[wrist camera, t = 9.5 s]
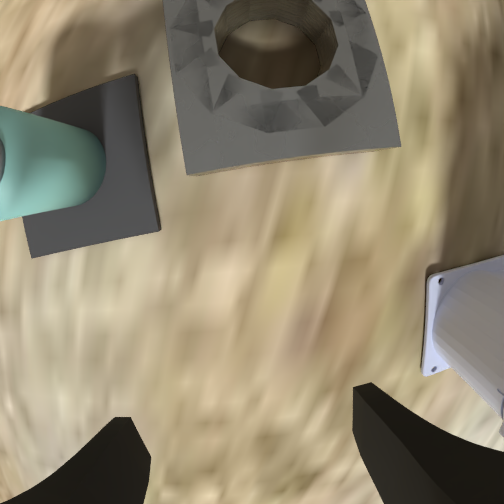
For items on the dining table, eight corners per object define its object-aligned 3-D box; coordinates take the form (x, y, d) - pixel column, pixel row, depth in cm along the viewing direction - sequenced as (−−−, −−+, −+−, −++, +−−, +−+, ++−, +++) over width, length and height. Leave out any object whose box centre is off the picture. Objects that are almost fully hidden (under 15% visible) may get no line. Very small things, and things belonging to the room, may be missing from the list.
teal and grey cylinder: (103, 120, 15) (20, 87, 8) (110, 199, 16) (25, 214, 9) (40, 139, 15) (-52, 126, 8) (46, 212, 16) (-46, 233, 8)
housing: (330, -21, 14) (345, -50, 11) (372, 151, 17) (401, 146, 14) (171, -6, 14) (159, -36, 11) (196, 176, 17) (186, 175, 13)
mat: (137, 76, 15) (134, 74, 15) (161, 229, 17) (158, 231, 17) (16, 123, 15) (11, 122, 15) (36, 256, 17) (31, 258, 17)
